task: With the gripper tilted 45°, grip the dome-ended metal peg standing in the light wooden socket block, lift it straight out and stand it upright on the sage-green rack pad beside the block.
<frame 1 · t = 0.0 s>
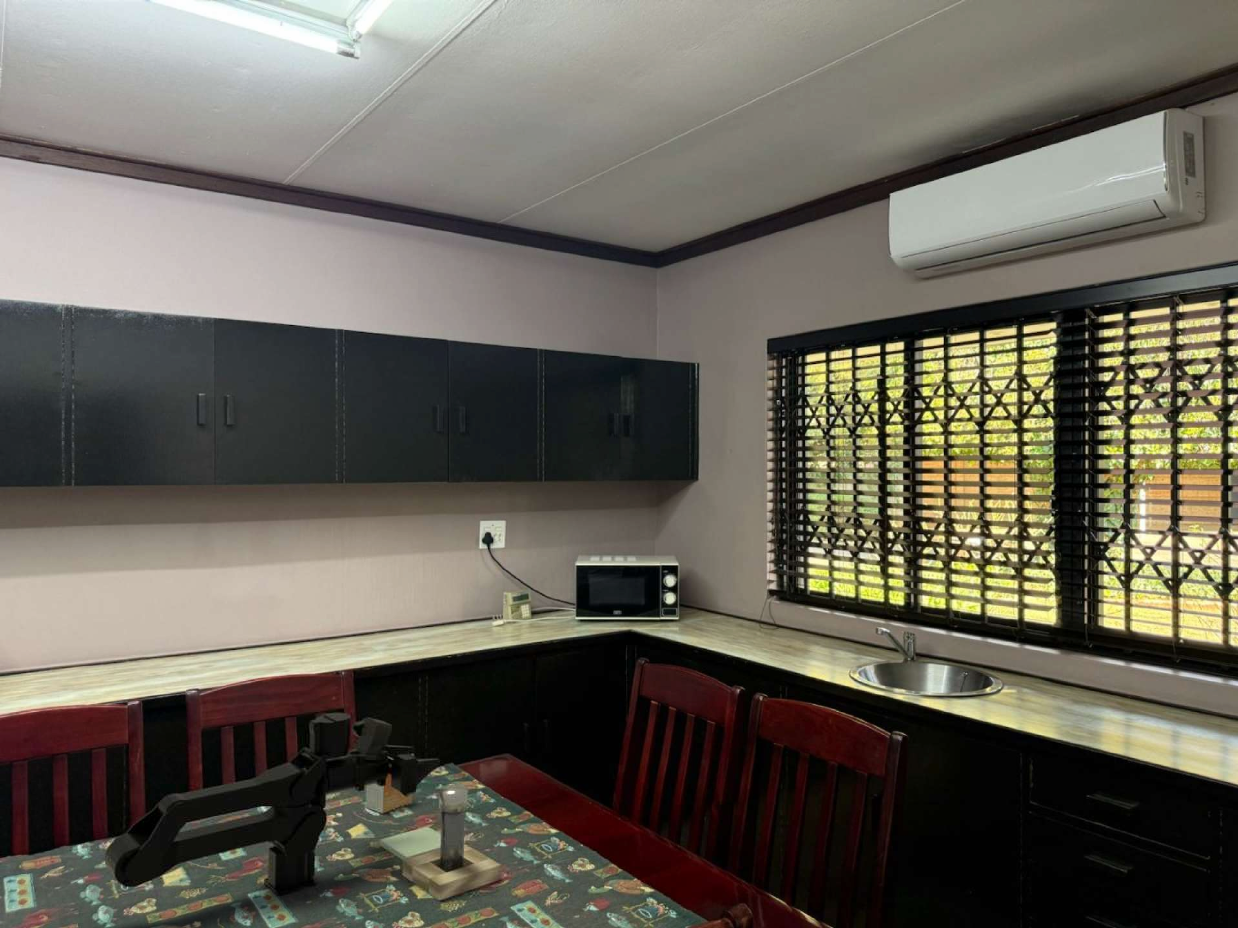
hand: (426, 755, 167), 17 cm above the table, tool horizontal, fingers open, 9 cm apart
socket block: (451, 877, 154), on the table
dome-ended metal peg: (452, 833, 154), in the socket block
rack pad: (417, 846, 166), on the table
small box: (389, 806, 186), on the table
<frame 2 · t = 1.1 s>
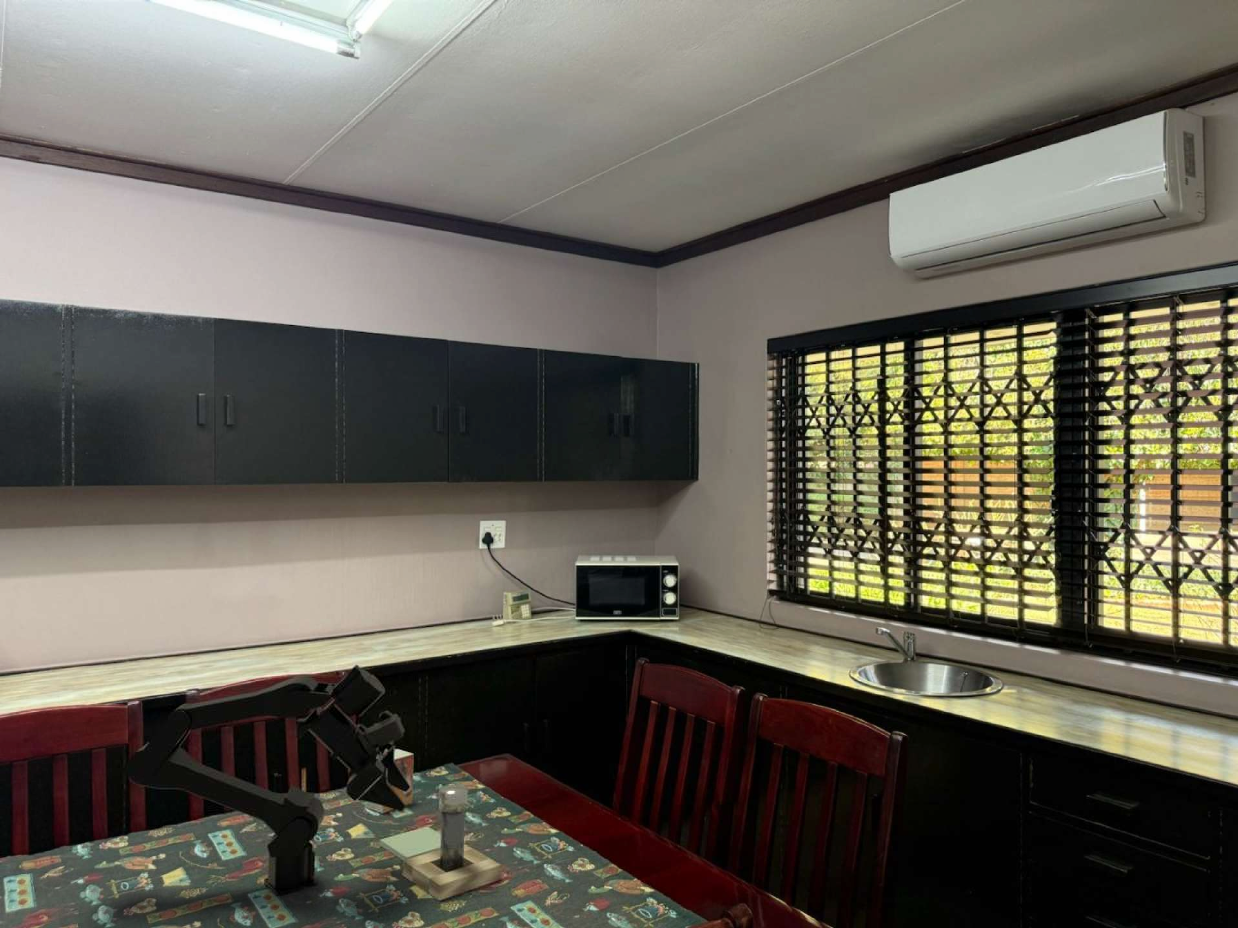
hand: (406, 798, 153), 14 cm above the table, tool tilted 45°, fingers open, 9 cm apart
nothing on the table moved.
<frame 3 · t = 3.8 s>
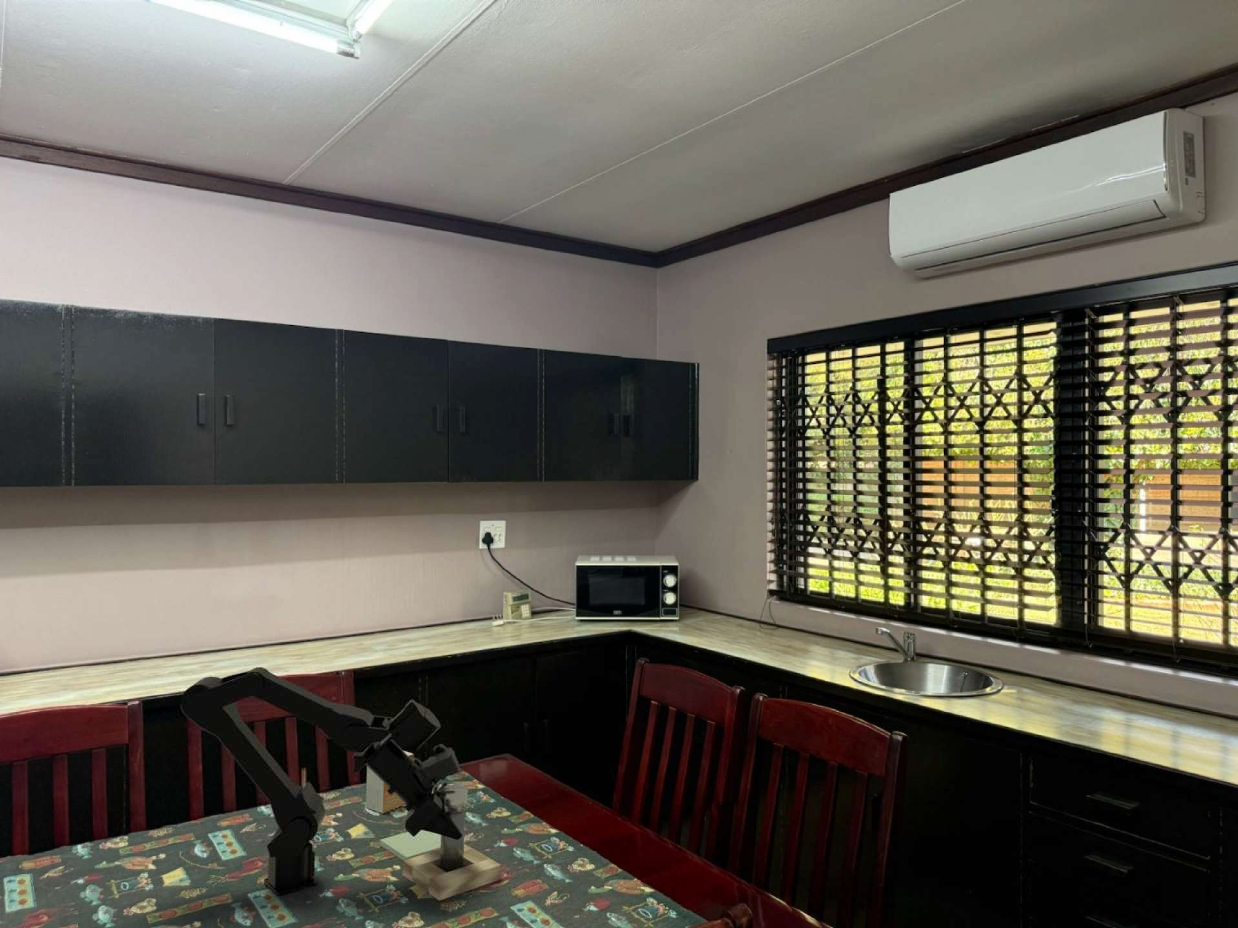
hand: (460, 832, 154), 8 cm above the table, tool tilted 45°, fingers closed on dome-ended metal peg, 4 cm apart
dome-ended metal peg: (452, 833, 154), in the socket block, touching gripper
everything else where it was.
when the fingers open (9 cm above the table, at t = 8.1 s): dome-ended metal peg stays where it is, resting on rack pad.
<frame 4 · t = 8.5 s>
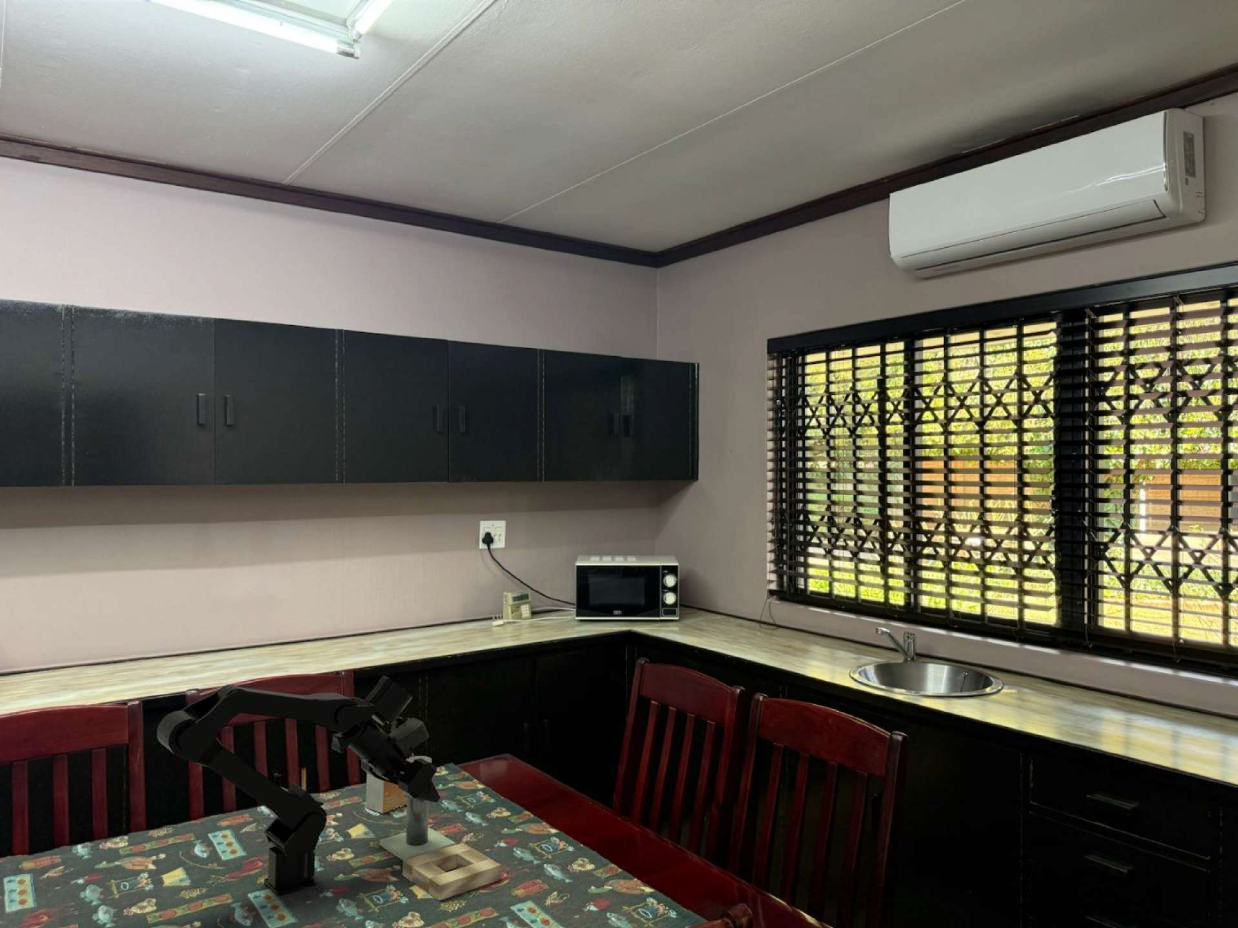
hand: (425, 793, 167), 10 cm above the table, tool tilted 45°, fingers open, 9 cm apart
dome-ended metal peg: (417, 800, 166), on the rack pad, point 8 cm above the table
everything else where it was.
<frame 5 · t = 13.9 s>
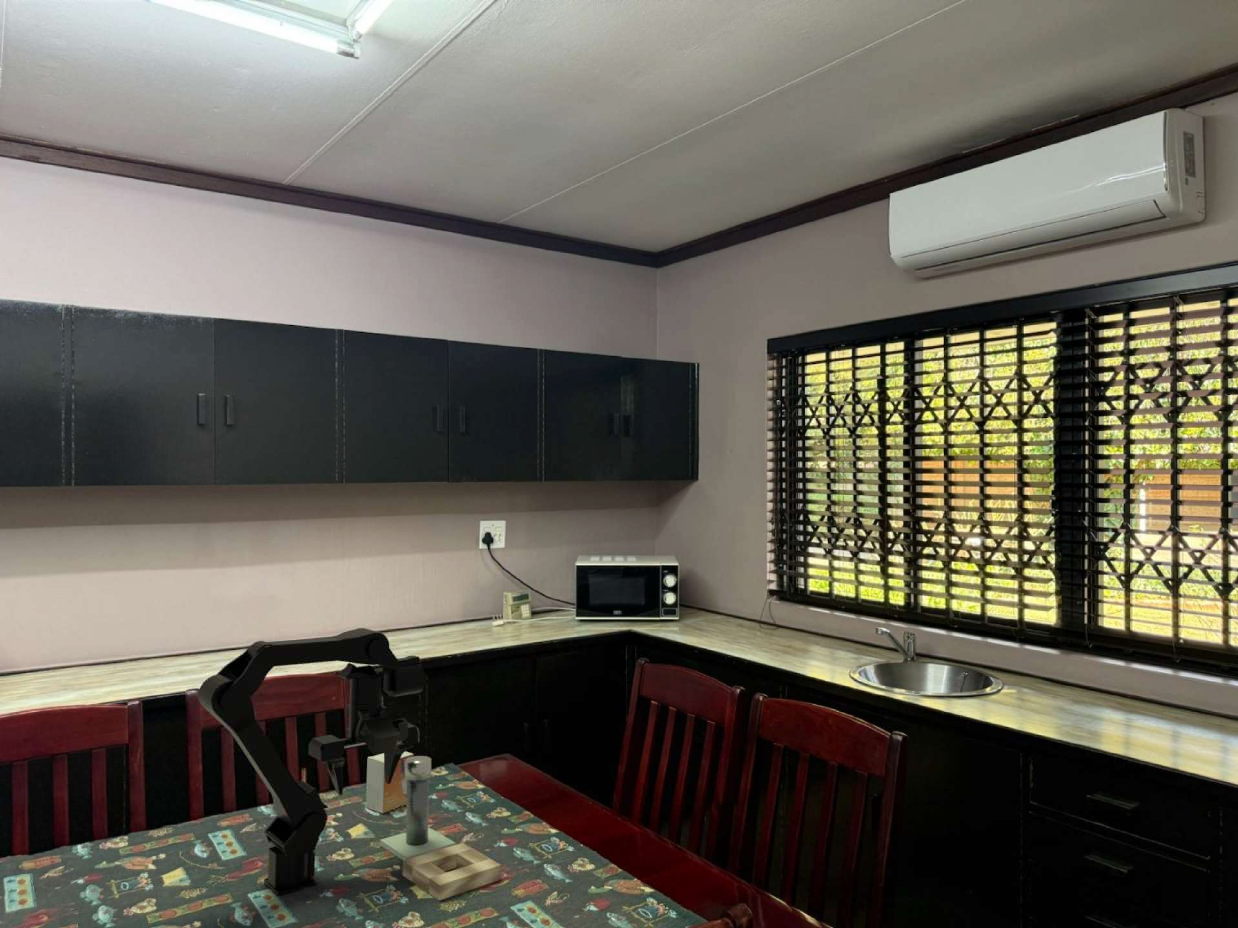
hand: (364, 788, 159), 13 cm above the table, tool pointing down, fingers open, 9 cm apart
nothing on the table moved.
at the end: dome-ended metal peg inside the target area on the rack pad (0.1 cm from its centre), point 8.5 cm above the rack pad's base; dome-ended metal peg tilted 1°; the gripper is holding nothing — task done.
